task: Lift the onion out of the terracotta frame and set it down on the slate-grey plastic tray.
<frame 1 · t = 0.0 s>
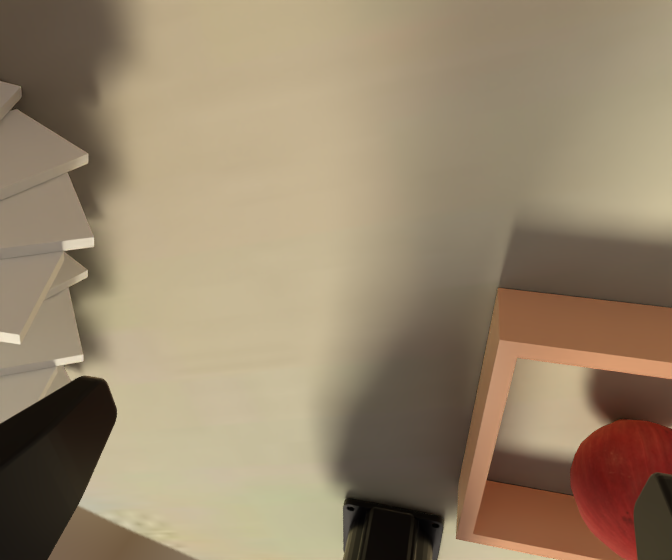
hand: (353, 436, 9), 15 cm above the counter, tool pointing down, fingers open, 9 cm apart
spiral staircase: (3, 231, 29), on the counter
onion: (624, 420, 27), resting in terracotta frame
terracotta frame: (625, 423, 27), on the counter
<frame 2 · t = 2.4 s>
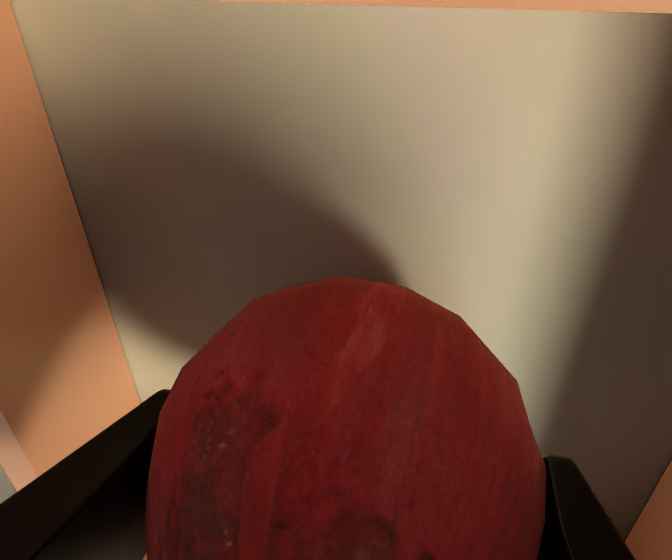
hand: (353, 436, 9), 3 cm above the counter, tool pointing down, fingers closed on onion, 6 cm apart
onion: (382, 314, 12), resting in terracotta frame, touching gripper
terracotta frame: (380, 320, 11), on the counter
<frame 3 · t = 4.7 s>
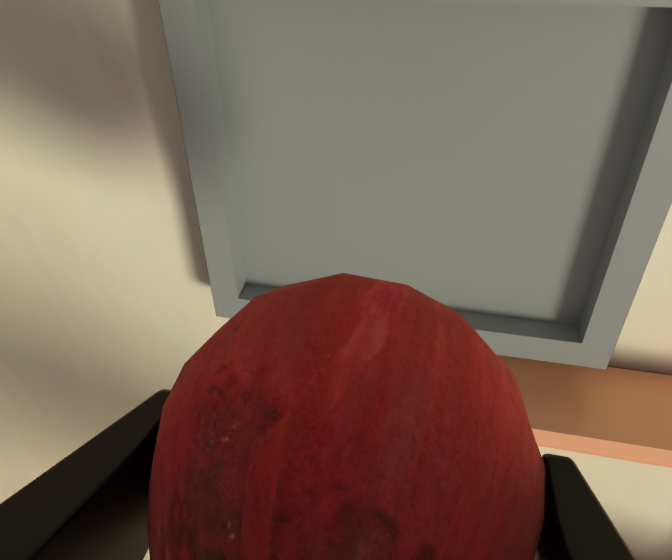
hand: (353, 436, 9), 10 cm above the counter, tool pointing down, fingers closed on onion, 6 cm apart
onion: (383, 312, 12), point 7 cm above the counter, touching gripper
tray: (414, 168, 17), on the counter
terracotta frame: (618, 493, 24), on the counter
when the fingers open (5 cm above the counter, at t = 5.9 s): onion drops 1 cm, resting on tray.
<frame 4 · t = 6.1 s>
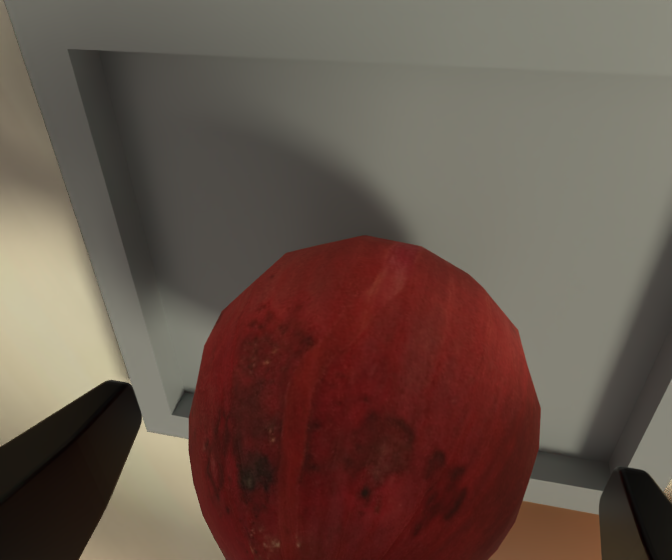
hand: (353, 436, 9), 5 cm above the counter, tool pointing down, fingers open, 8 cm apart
onion: (395, 281, 13), resting on tray
tray: (393, 267, 13), on the counter
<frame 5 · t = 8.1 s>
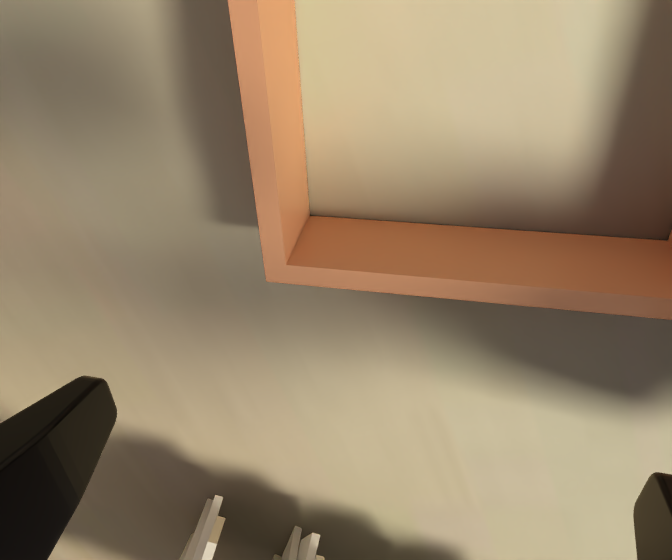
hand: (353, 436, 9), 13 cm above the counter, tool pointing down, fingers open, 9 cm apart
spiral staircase: (328, 551, 37), on the counter
terracotta frame: (503, 42, 17), on the counter
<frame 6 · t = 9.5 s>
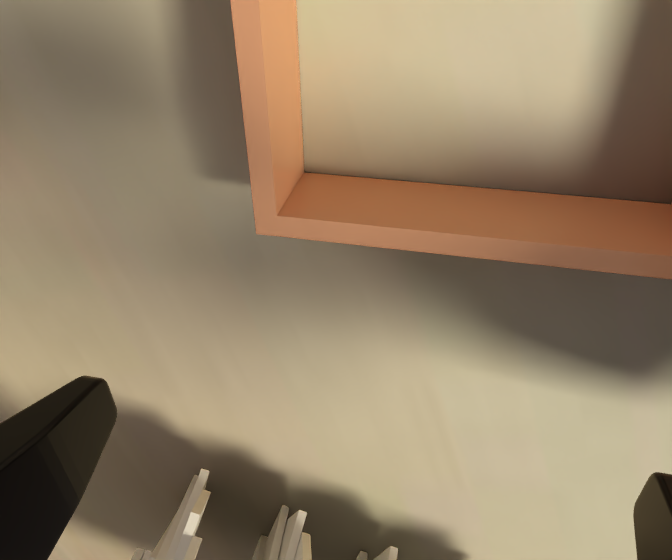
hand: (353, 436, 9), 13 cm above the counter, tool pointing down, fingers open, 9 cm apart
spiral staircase: (315, 532, 37), on the counter
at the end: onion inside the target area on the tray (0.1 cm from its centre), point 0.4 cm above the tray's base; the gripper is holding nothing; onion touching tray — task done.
